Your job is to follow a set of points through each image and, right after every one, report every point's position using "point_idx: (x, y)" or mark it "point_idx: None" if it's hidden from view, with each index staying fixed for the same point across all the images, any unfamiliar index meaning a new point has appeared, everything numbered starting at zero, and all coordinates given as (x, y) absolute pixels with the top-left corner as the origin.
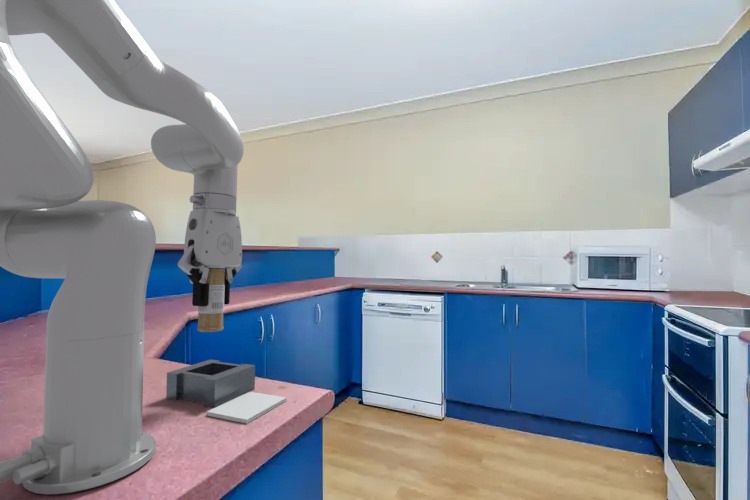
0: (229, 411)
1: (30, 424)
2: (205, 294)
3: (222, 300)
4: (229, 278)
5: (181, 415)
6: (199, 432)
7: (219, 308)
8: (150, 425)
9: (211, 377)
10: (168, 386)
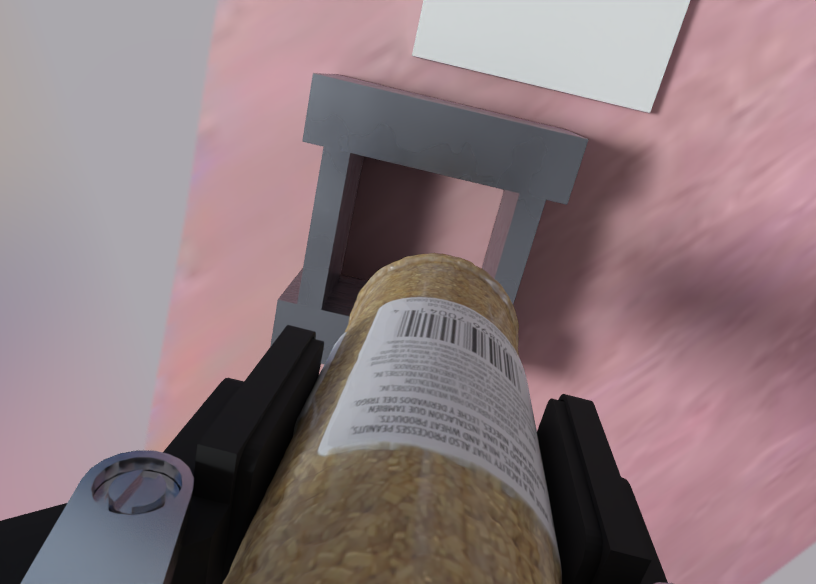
0: (645, 18)
1: (721, 565)
2: (612, 470)
3: (413, 343)
4: (126, 520)
5: (645, 205)
6: (796, 45)
7: (458, 318)
8: (732, 253)
9: (550, 179)
10: None
